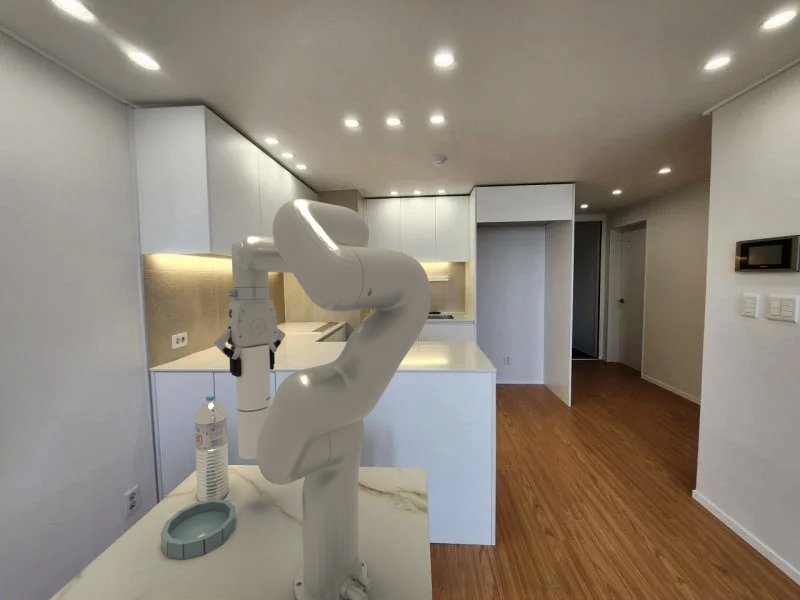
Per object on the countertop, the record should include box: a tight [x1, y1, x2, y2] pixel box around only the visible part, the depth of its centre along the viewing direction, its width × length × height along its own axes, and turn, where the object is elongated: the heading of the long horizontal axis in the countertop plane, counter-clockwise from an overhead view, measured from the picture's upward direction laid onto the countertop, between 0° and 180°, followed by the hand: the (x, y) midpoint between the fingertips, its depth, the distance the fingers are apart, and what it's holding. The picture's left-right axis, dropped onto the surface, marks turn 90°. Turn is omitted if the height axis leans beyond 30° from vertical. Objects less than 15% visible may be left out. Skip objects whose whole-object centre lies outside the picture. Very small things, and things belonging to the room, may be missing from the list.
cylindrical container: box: [235, 344, 272, 460], centre depth 78 cm, size 7×7×25 cm
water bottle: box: [194, 394, 230, 502], centre depth 82 cm, size 7×7×25 cm
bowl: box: [160, 499, 237, 560], centre depth 71 cm, size 13×13×3 cm
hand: (253, 371), depth 78 cm, fingers closed on cylindrical container, 7 cm apart
